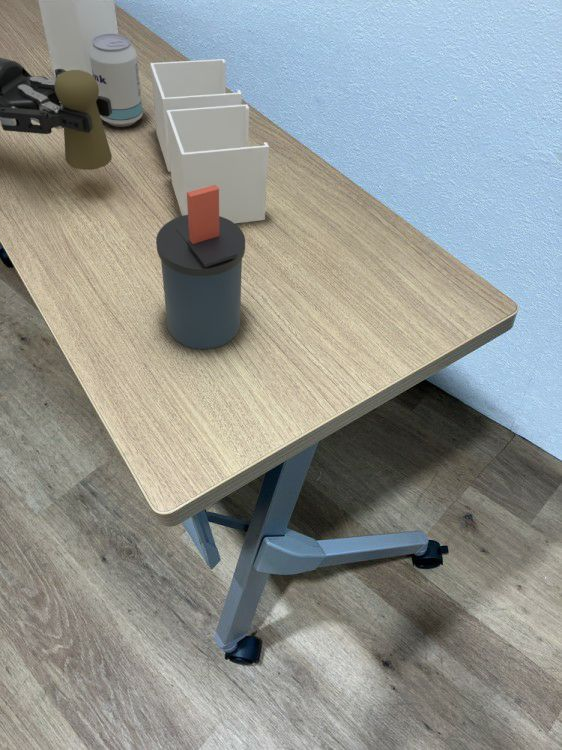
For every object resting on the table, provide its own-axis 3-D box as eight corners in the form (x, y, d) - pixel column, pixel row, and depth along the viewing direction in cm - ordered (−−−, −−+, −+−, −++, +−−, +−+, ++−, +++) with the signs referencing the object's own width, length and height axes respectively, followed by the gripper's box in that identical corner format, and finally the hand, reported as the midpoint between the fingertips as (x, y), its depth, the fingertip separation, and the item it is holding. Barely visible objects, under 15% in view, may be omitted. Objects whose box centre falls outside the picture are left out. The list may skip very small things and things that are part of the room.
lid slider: (186, 244, 61) (183, 192, 57) (218, 234, 63) (218, 183, 58) (204, 267, 59) (202, 216, 55) (237, 257, 61) (238, 206, 56)
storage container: (156, 134, 98) (150, 63, 89) (224, 128, 100) (224, 59, 92) (186, 229, 83) (181, 154, 74) (264, 219, 85) (269, 146, 77)
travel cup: (152, 311, 72) (141, 226, 63) (220, 287, 76) (220, 204, 67) (185, 362, 68) (179, 278, 58) (256, 334, 71) (261, 252, 62)
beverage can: (93, 114, 100) (80, 35, 91) (132, 105, 103) (124, 28, 94) (109, 134, 97) (98, 54, 88) (150, 124, 99) (143, 46, 90)
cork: (63, 147, 84) (46, 65, 76) (108, 144, 85) (96, 62, 77) (67, 171, 80) (50, 87, 72) (114, 167, 82) (103, 84, 73)
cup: (93, 115, 100) (72, -13, 86) (43, 94, 103) (14, -33, 89) (138, 90, 107) (125, -33, 92) (90, 71, 110) (70, -50, 96)
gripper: (-64, 77, 73) (63, 111, 70) (9, 35, 82) (125, 63, 79) (-44, 136, 79) (75, 170, 76) (23, 91, 88) (131, 119, 85)
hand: (100, 115), depth 77 cm, fingers closed on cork, 4 cm apart
